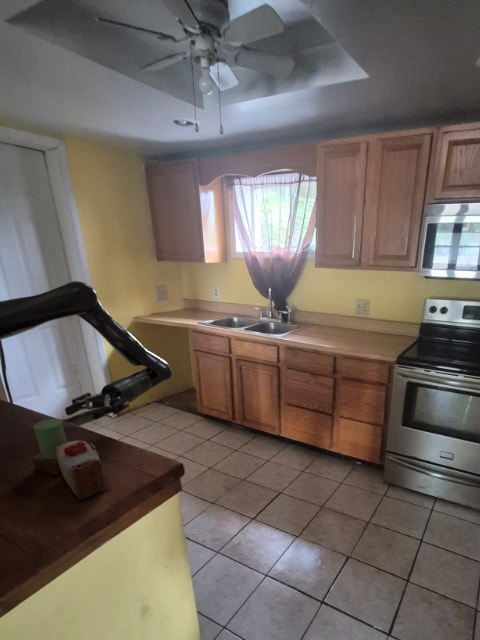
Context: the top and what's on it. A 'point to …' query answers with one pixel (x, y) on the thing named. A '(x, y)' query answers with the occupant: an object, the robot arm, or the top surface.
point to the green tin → (50, 437)
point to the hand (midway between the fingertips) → (80, 414)
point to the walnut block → (46, 465)
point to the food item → (81, 468)
